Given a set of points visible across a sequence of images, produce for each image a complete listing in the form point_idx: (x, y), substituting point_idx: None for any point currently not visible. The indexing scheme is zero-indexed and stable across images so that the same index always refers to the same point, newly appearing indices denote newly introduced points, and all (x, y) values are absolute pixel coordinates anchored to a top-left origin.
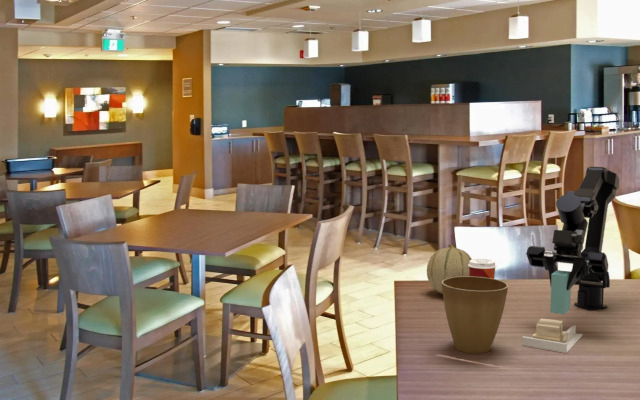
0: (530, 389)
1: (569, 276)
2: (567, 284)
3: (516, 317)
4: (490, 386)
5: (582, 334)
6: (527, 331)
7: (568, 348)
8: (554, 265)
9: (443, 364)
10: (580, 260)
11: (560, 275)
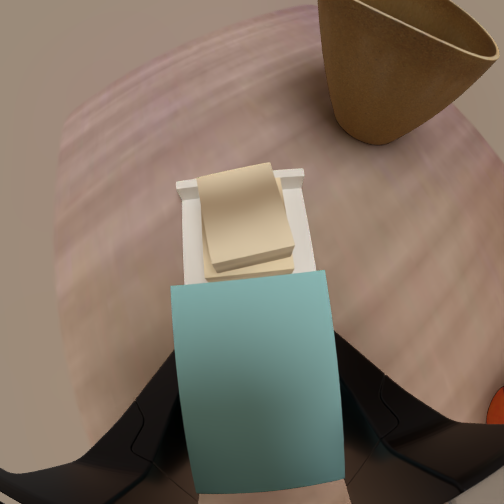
0: (195, 47)
1: (178, 393)
2: None
3: None
4: (246, 33)
5: None
6: (357, 335)
7: (186, 230)
8: (387, 477)
9: None
10: (9, 482)
11: (227, 281)
